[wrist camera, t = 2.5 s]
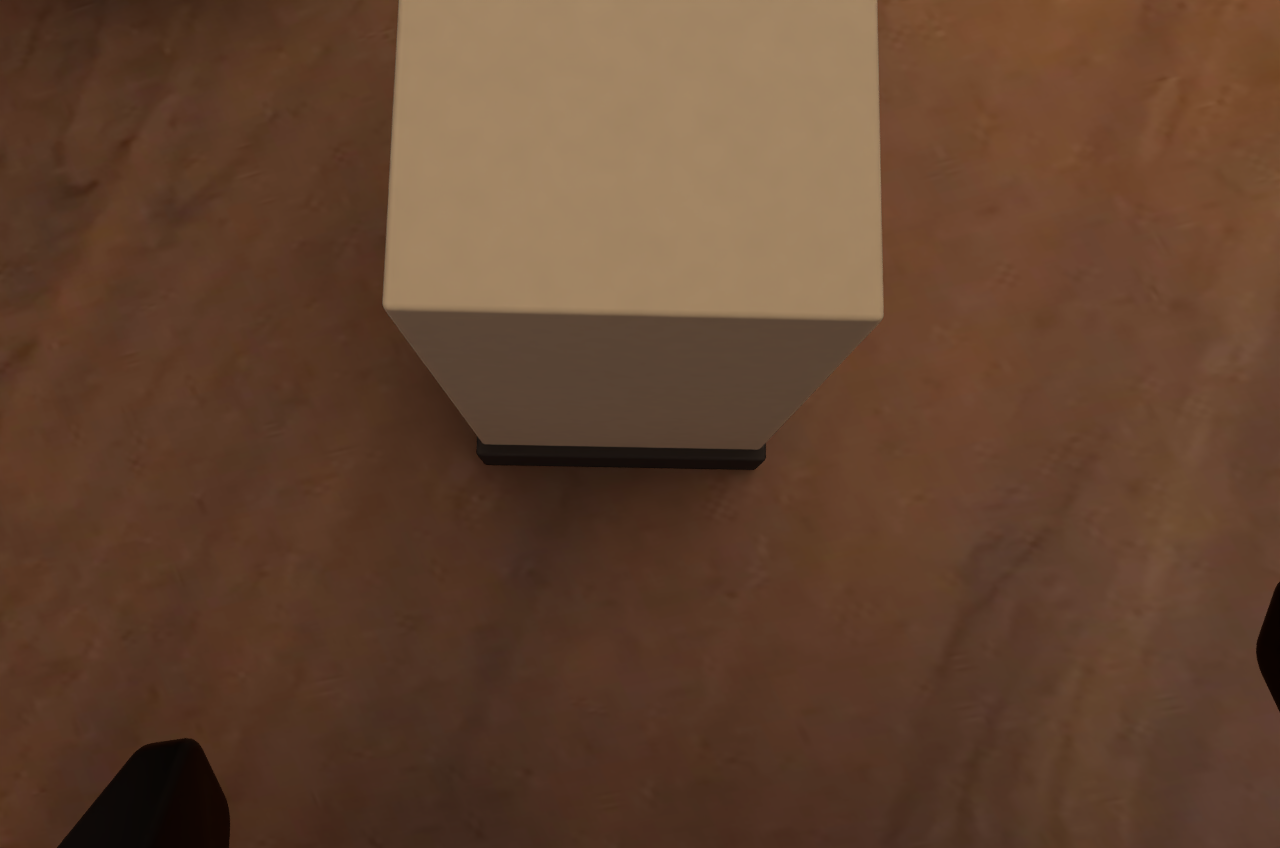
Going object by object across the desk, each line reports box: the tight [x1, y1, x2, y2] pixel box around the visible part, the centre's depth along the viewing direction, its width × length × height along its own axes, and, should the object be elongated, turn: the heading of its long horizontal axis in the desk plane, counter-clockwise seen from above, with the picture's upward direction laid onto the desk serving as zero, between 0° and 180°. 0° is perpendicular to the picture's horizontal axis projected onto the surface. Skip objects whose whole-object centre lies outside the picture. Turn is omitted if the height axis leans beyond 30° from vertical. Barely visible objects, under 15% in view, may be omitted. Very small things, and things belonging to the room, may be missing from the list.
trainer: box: [382, 0, 884, 470], centre depth 18 cm, size 11×5×11 cm, turn 179°
